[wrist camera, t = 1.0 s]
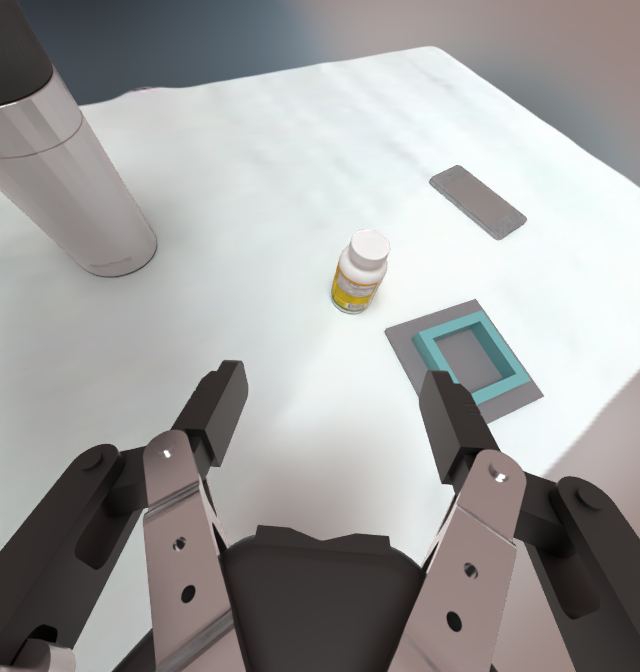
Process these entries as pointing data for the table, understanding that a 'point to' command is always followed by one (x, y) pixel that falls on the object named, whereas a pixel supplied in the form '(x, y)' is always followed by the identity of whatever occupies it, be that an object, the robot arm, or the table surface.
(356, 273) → the supplement bottle
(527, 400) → the bottle dock
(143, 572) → the table surface
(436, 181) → the phone
